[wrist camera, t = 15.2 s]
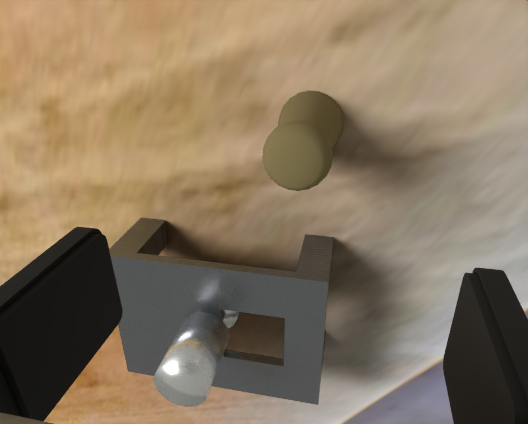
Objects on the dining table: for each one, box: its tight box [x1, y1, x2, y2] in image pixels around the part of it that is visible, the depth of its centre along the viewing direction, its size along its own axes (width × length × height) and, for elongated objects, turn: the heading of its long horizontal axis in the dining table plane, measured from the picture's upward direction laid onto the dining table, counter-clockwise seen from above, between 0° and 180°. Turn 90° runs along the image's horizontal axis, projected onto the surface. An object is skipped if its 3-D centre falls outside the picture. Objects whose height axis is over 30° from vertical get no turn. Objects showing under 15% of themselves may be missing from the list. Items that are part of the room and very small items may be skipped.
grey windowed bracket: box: [109, 218, 334, 405], centre depth 46 cm, size 22×16×8 cm
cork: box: [263, 91, 344, 191], centre depth 34 cm, size 6×6×11 cm
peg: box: [154, 310, 240, 407], centre depth 42 cm, size 5×5×12 cm
